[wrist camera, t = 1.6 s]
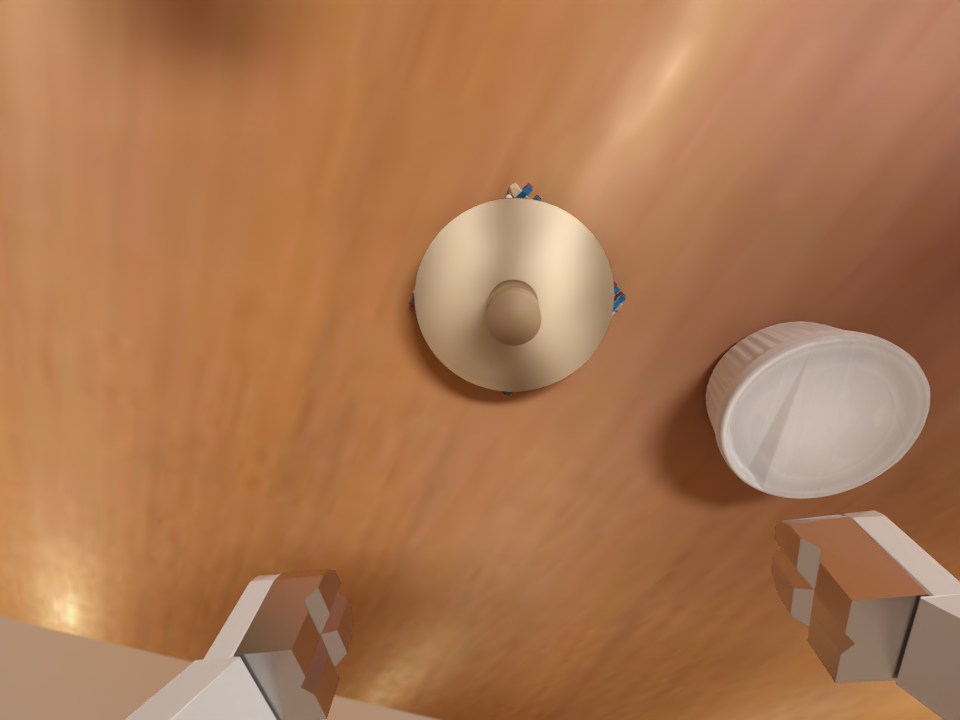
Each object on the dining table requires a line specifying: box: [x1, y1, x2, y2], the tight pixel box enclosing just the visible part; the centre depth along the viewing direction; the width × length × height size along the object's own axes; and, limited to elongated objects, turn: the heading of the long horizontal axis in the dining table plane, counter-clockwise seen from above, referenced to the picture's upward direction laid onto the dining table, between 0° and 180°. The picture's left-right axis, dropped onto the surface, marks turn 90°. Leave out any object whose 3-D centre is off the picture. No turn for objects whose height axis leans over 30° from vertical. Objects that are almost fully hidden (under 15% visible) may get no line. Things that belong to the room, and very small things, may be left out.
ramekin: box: [706, 321, 930, 499], centre depth 28 cm, size 11×11×5 cm
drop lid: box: [415, 198, 614, 392], centre depth 26 cm, size 12×12×4 cm
